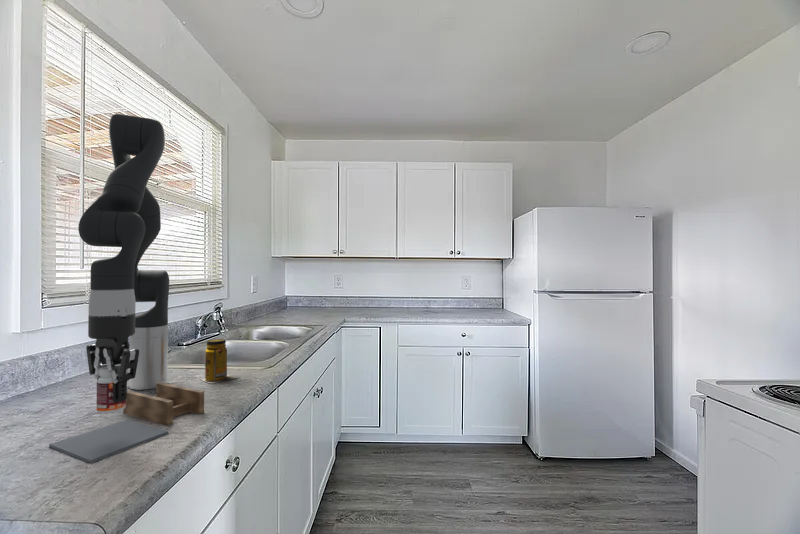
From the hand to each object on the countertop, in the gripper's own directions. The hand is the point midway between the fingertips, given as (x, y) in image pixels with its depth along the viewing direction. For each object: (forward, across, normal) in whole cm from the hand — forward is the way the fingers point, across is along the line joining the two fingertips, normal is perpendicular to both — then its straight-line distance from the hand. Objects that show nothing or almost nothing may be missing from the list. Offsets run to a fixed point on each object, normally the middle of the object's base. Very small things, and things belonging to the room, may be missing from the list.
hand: (111, 398), depth 79 cm
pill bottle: (+2, 0, 0) cm, 2 cm away
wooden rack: (+8, -5, +14) cm, 17 cm away
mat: (+8, 0, 0) cm, 8 cm away
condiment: (+8, -18, +40) cm, 45 cm away
